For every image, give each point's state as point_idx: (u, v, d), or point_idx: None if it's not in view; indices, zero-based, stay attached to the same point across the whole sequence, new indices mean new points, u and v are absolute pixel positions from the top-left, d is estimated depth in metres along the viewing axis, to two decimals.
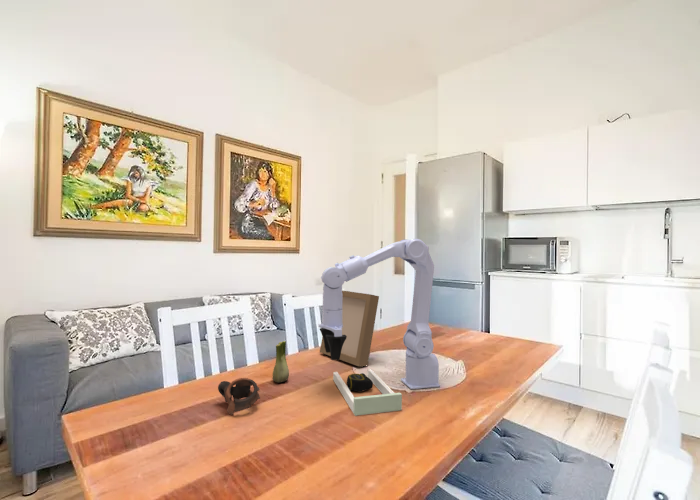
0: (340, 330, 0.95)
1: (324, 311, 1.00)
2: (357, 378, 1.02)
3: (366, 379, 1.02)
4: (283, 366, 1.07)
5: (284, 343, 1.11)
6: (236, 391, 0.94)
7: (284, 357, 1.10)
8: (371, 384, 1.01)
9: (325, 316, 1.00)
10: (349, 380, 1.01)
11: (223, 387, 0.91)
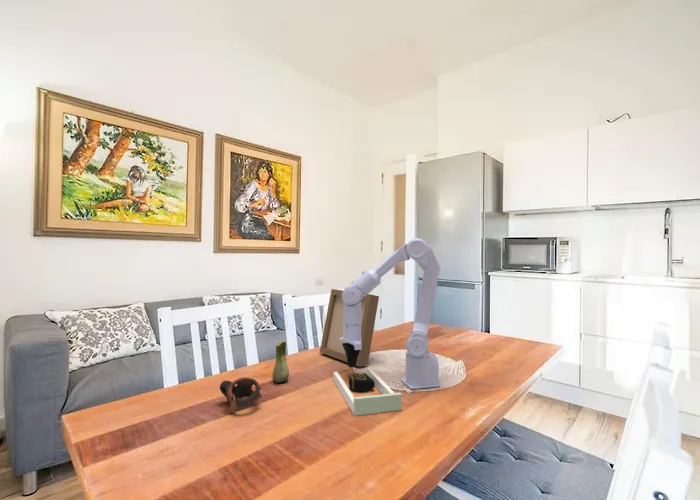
0: (360, 344, 1.06)
1: (345, 326, 1.11)
2: (359, 377, 1.03)
3: (368, 379, 1.02)
4: (283, 366, 1.07)
5: (284, 343, 1.11)
6: (238, 390, 0.94)
7: (284, 357, 1.10)
8: (373, 384, 1.01)
9: (346, 330, 1.10)
10: (351, 380, 1.02)
11: (225, 386, 0.91)
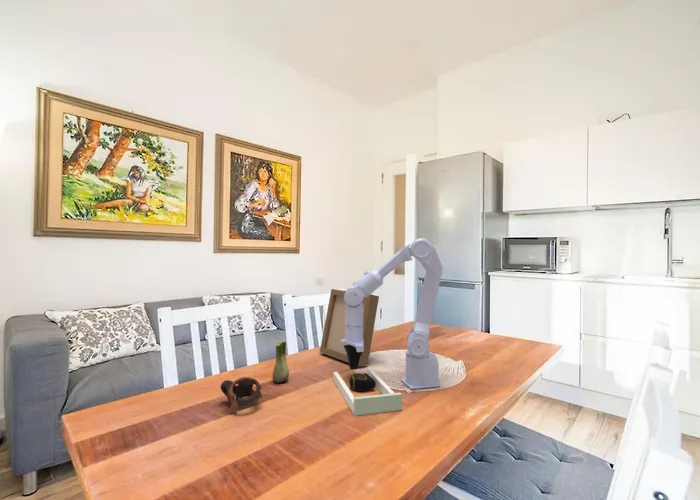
0: (362, 346, 1.04)
1: (346, 327, 1.09)
2: (360, 377, 1.03)
3: (369, 379, 1.02)
4: (283, 366, 1.07)
5: (284, 343, 1.11)
6: (238, 390, 0.94)
7: (284, 357, 1.10)
8: (374, 384, 1.01)
9: (348, 332, 1.08)
10: (352, 380, 1.02)
11: (226, 386, 0.91)
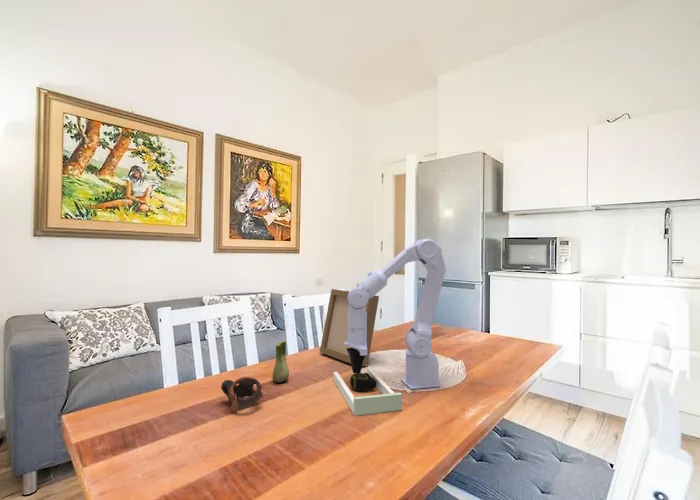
0: (365, 349, 1.00)
1: (349, 330, 1.05)
2: (361, 377, 1.03)
3: (370, 378, 1.02)
4: (283, 366, 1.07)
5: (284, 343, 1.11)
6: (239, 390, 0.95)
7: (284, 357, 1.10)
8: (375, 384, 1.01)
9: (351, 335, 1.05)
10: (353, 379, 1.02)
11: (226, 386, 0.91)
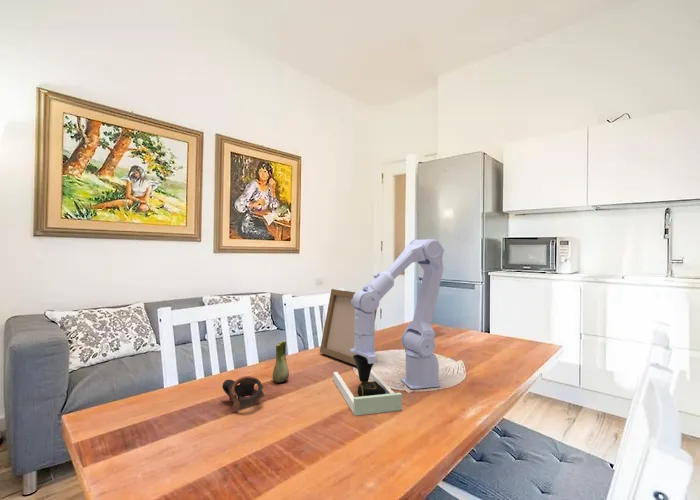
0: (374, 357, 0.93)
1: (356, 336, 0.98)
2: (369, 386, 0.95)
3: (379, 388, 0.95)
4: (283, 366, 1.07)
5: (284, 343, 1.11)
6: (240, 389, 0.95)
7: (284, 357, 1.10)
8: None
9: (358, 341, 0.98)
10: (360, 389, 0.95)
11: (227, 385, 0.92)
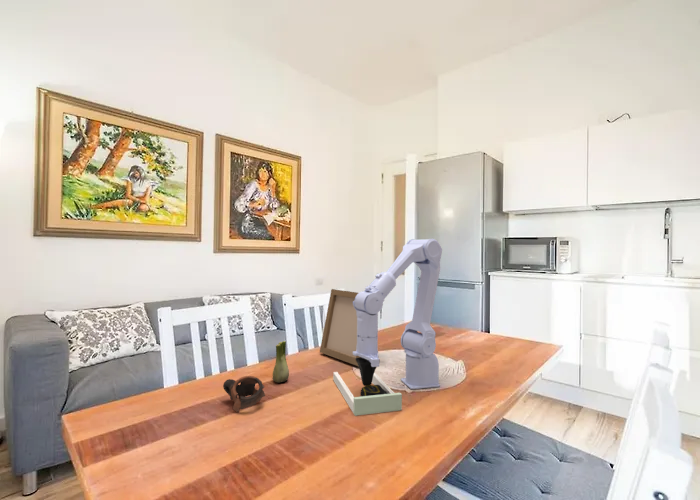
0: (377, 360, 0.91)
1: (359, 338, 0.96)
2: (372, 390, 0.93)
3: (382, 392, 0.92)
4: (283, 366, 1.07)
5: (284, 343, 1.11)
6: (241, 389, 0.95)
7: (284, 357, 1.10)
8: None
9: (361, 343, 0.95)
10: (363, 393, 0.92)
11: (228, 385, 0.92)
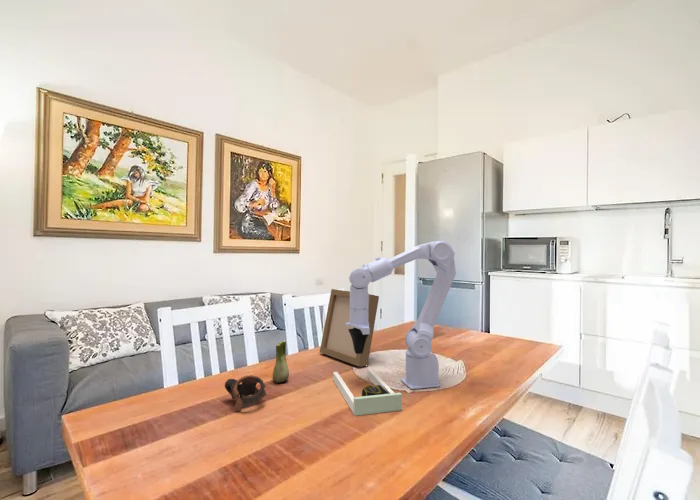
0: (368, 328, 1.00)
1: (351, 310, 1.05)
2: (373, 391, 0.93)
3: (383, 392, 0.92)
4: (283, 366, 1.07)
5: (284, 343, 1.11)
6: (242, 388, 0.95)
7: (284, 357, 1.10)
8: None
9: (353, 315, 1.05)
10: (364, 393, 0.92)
11: (230, 384, 0.92)
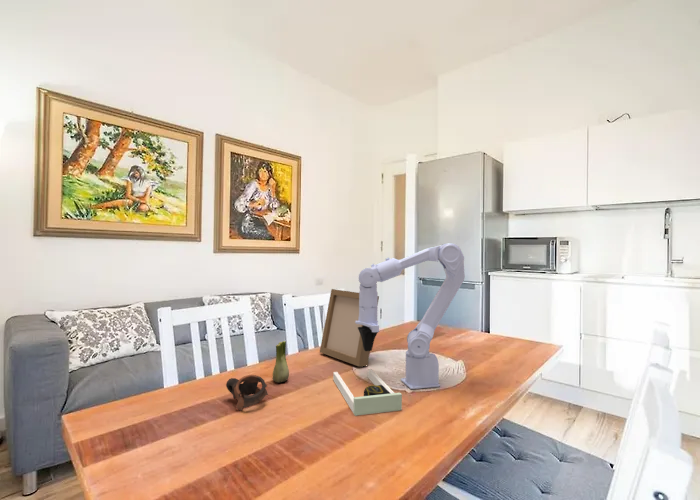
0: (377, 326, 1.03)
1: (361, 309, 1.08)
2: (375, 390, 0.93)
3: (385, 392, 0.93)
4: (283, 366, 1.07)
5: (284, 343, 1.11)
6: (244, 388, 0.96)
7: (284, 357, 1.10)
8: None
9: (362, 313, 1.07)
10: (366, 393, 0.93)
11: (231, 384, 0.93)
